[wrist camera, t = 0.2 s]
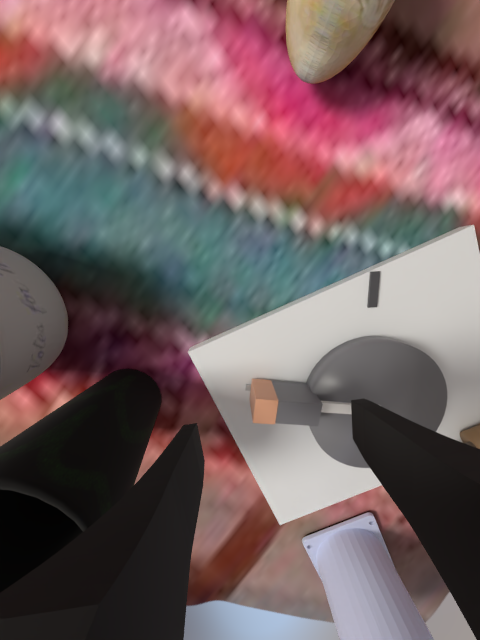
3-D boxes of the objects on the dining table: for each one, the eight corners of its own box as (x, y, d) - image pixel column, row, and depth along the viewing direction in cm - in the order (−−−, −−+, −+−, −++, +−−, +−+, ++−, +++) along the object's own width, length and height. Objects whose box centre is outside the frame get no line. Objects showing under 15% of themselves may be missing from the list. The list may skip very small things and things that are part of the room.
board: (501, 424, 23) (518, 433, 22) (277, 512, 24) (280, 527, 23) (458, 227, 19) (476, 224, 17) (190, 347, 20) (187, 352, 19)
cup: (139, 341, 20) (8, 446, 8) (190, 408, 21) (141, 578, 10) (67, 386, 20) (-152, 544, 9) (121, 448, 22) (-2, 653, 10)
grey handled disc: (444, 341, 19) (484, 355, 16) (410, 454, 22) (439, 485, 19) (258, 324, 18) (264, 336, 15) (243, 445, 21) (245, 476, 18)
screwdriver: (503, 407, 21) (537, 424, 19) (507, 428, 22) (541, 447, 19) (409, 444, 22) (431, 466, 19) (415, 464, 22) (437, 487, 20)
